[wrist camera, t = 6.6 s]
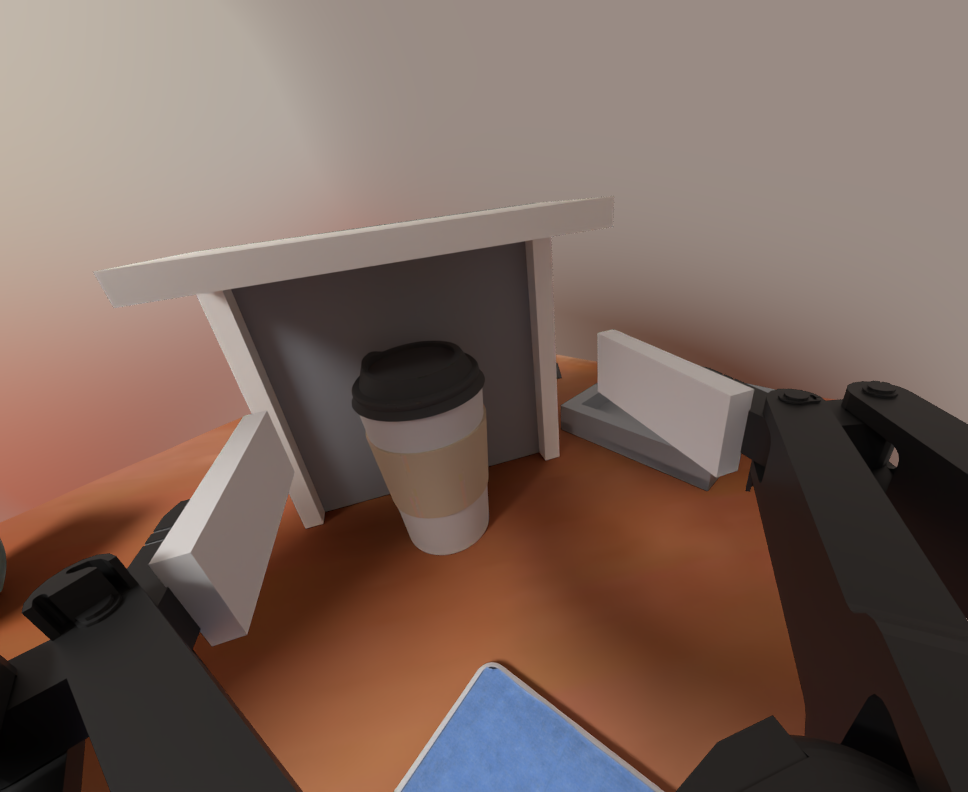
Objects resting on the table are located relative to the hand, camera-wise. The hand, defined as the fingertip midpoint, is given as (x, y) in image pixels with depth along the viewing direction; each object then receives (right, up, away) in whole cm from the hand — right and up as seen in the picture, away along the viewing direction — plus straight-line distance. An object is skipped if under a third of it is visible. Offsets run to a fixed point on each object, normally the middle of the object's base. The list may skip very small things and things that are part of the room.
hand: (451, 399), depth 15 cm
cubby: (-2, -10, +18) cm, 20 cm away
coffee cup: (-2, -10, +17) cm, 20 cm away
